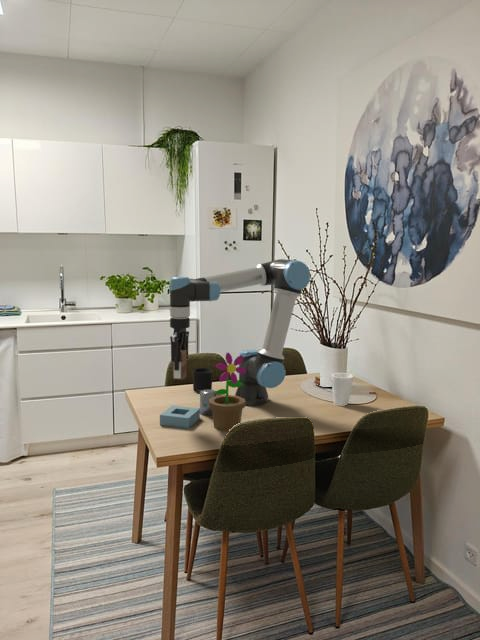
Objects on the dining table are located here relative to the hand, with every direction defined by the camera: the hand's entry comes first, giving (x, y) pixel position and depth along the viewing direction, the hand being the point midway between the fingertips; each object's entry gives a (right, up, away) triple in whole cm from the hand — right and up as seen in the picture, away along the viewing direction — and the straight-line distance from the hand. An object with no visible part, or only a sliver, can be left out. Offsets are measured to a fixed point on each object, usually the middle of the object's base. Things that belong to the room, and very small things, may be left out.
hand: (179, 376), depth 199 cm
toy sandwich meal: (+67, -11, +57) cm, 89 cm away
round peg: (+10, -17, +13) cm, 23 cm away
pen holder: (+6, -12, +44) cm, 46 cm away
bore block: (0, -18, +3) cm, 18 cm away
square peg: (0, -1, 0) cm, 1 cm away
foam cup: (+68, -16, +28) cm, 75 cm away
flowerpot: (+18, -19, -1) cm, 27 cm away
